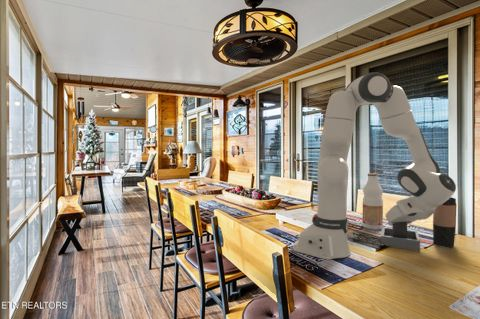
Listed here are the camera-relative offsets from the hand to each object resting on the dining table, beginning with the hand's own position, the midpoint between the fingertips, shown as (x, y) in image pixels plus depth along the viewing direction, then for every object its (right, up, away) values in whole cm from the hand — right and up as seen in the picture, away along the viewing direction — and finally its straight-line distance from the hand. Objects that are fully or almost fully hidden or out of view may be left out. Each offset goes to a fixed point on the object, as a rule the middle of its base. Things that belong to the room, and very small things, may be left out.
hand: (398, 223), depth 119 cm
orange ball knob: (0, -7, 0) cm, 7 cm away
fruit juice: (-1, -8, +22) cm, 24 cm away
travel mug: (+17, -9, -3) cm, 20 cm away
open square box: (0, -8, 0) cm, 8 cm away
